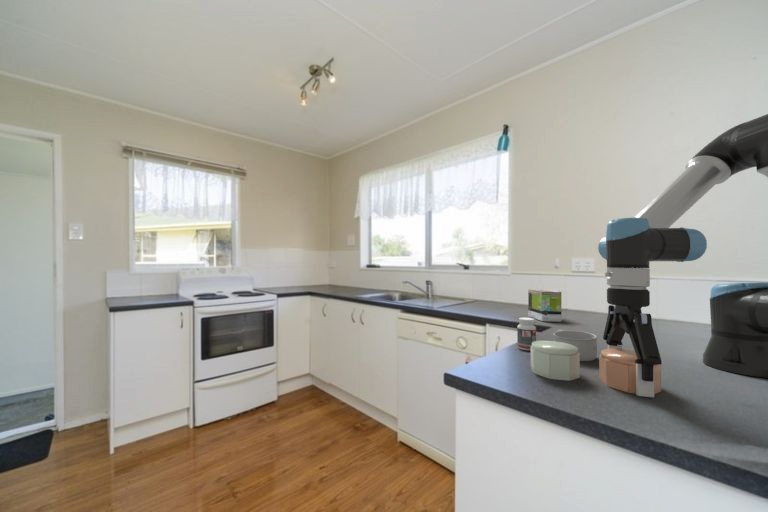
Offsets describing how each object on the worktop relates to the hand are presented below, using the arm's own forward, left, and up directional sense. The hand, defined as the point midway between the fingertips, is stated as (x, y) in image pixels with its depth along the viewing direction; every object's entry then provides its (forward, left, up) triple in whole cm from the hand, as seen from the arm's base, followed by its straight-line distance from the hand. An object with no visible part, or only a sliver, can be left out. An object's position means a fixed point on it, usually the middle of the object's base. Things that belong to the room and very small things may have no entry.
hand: (628, 383), depth 69 cm
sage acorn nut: (+14, -4, -2) cm, 15 cm away
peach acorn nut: (0, 0, -2) cm, 2 cm away
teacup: (+5, -22, -2) cm, 23 cm away
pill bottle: (+16, -31, -2) cm, 35 cm away
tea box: (-2, -93, -2) cm, 93 cm away
